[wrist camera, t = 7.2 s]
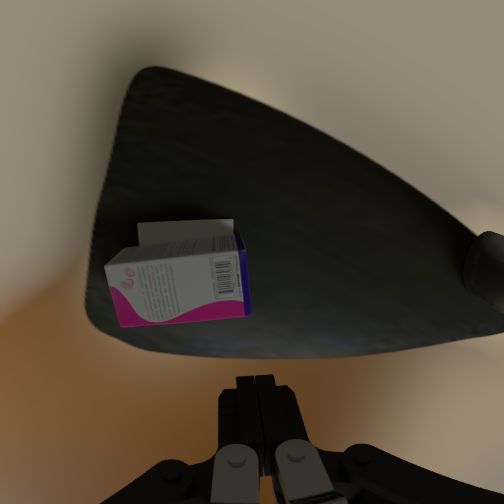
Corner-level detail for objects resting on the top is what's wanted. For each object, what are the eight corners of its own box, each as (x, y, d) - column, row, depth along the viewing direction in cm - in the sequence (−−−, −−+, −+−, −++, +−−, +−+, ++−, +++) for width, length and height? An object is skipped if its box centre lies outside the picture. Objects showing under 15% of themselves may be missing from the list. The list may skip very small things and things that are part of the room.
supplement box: (240, 232, 28) (122, 245, 27) (247, 249, 22) (101, 265, 21) (245, 289, 30) (133, 301, 29) (253, 318, 24) (118, 330, 23)
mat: (232, 218, 28) (233, 219, 27) (235, 298, 30) (235, 300, 30) (138, 222, 27) (137, 223, 27) (147, 301, 29) (146, 302, 29)
